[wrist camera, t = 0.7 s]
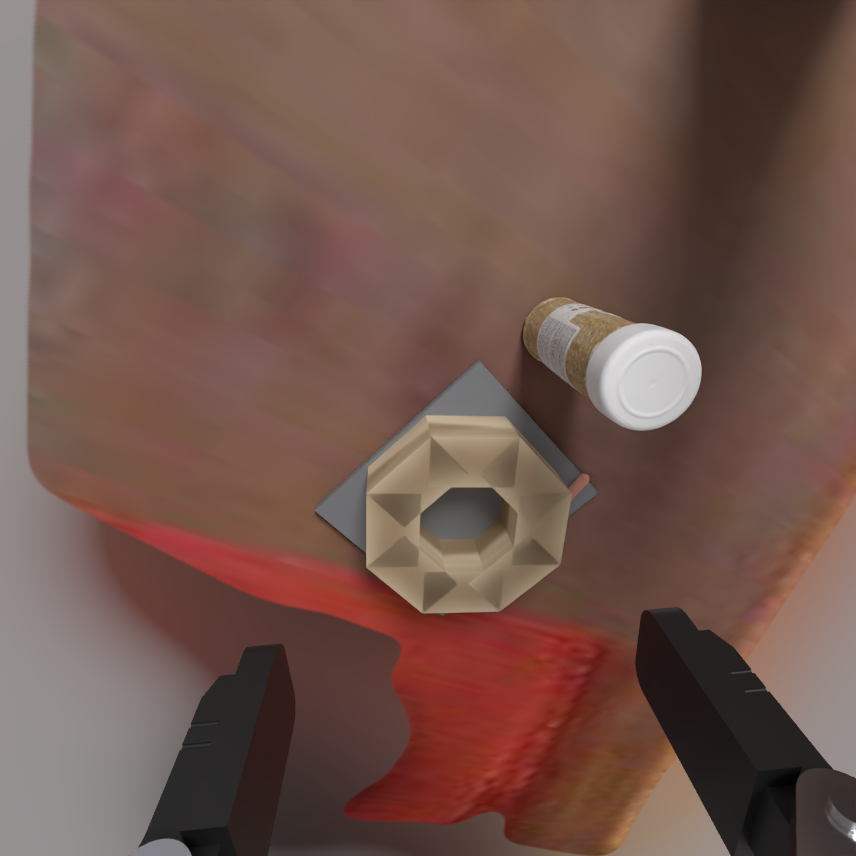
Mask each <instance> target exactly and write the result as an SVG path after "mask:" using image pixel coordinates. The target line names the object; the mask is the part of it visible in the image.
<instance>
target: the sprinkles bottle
mask: <svg viewBox="0 0 856 856" xmlns="http://www.w3.org/2000/svg"><path fill="white" fill-rule="evenodd" d="M523 340H524V345H525V346H526V348H527V350H528V352H529V353H530V354H531V355H532V356H533V357H534V358H535V359H537V360H538V361H540V362H543V363H544V364H545V365H546V366H547V367H548V368H549V369H550V370H552V371H553V372H554V373H555V374H557V375H558V376H559V377H560V378H562V379H563V380H564V381H565V382H567V383H568V384H569V385H571V386H572V387H573V388H574V389H576V390H577V391H579V392H580V393H582V394H584V395H585V396H587V397H588V398H590V399H591V401H592V403H593V404H594V406H595V407H596V408H597V409H598V410H599V411H600V412H601V413H603V414H604V415H605V416H606V417H608V418H609V419H611V420H612V421H613V422H615V423H617V424H618V425H620V426H622V427H625V428H627V429H631V430H638V431H645V430H652V429H657V428H660V427H662V426H665V425H667V424H669V423H670V422H672V421H674V420H675V419H677V418H678V417H679V416H680V415H681V414H682V413H683V412H684V411H685V410H686V409H687V408H688V407H689V406H690V404H691V403H692V401H693V400H694V398H695V396H696V394H697V392H698V389H699V386H700V382H701V374H702V367H701V362H700V358H699V355H698V353H697V351H696V349H695V347H694V346H693V345H692V343H691V342H690V341H689V340H688V339H686V338H685V337H684V336H682V335H681V334H679V333H677V332H674V331H672V330H669V329H666V328H663V327H660V326H657V325H653V324H646V323H639V324H637V323H633V322H631V321H628V320H625V319H623V318H621V317H618V316H616V315H613V314H610V313H607V312H605V311H602V310H598V309H596V308H593V307H590V306H587V305H584V304H578V303H577V302H575V301H574V300H572V299H569V298H564V297H555V298H549V299H547V300H545V301H543V302H541V303H539V304H538V305H537V306H536V307H535V308H534V309H533V310H532V311H531V312H530V314H529V315H528V316H527V318H526V320H525V324H524V328H523Z"/></svg>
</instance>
